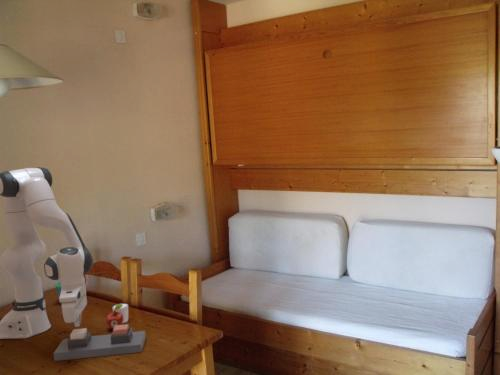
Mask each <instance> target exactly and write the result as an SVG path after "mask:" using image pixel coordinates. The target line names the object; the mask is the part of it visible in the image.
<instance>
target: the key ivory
mask: <svg viewBox="0 0 500 375" xmlns="http://www.w3.org/2000/svg"><path fill="white" fill-rule="evenodd" d="M87 332H88V328H87V327H85V328H74V329H73V330H72V331H71V333H70V334H69V338H71V340H76V339H85V338H86V336H87Z"/></svg>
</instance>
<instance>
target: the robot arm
mask: <svg viewBox="0 0 500 375" xmlns="http://www.w3.org/2000/svg"><path fill="white" fill-rule="evenodd" d="M52 185H53V176H52V173H51V172H50V170H49V169H48V168H45V167H41V166H39V167H24V168H20V169H13V170H6V171H5V170H4V171H3V172H0V196H1V197H3V204H4V205H3V207H4V208H3V209H4V218H5V226H6V227H5V228H6V230H7V232H8V233H10V235H11V236H12V238H13V241H14V245H12V246H10V247H8V248H7V249H5V250H4V252H3V253H2V254H1V255H0V266H1V268H2V269H3V270H4V271H6V272H7V274H8V275H9V277H10V278H11V283H12V284H13V289H14V290H13V291H14V299H13V301H12V302H11V303H10V308H11V310H10V311H9V312H8V313H6V314H5V315H4V316H3V317H2V319H1V320H0V340H3V339H28V338H31V337H33V336H35V335H39V334H41V333H44V332H46V331H48V330H49V329H51V327H52V324H51V323H50V320H49V318H48V314H47V310H46V309H47V307H46V306H47V305H46V303H47V302H46V299H45V295H44V290H43V283H42V278H41V276H39V275H38V274H37V272H36V269H35V267H34V265H35V264H37V263H38V262H40V261H41V260H42V259H43V257H45V254H46V252H47V246H46V244H45V242H44V241H43V240H42V239H41V238H40V235H39V232H38V230H37V227H36V225H37V226H40V227H45V228H50V229H51V228H52V229H54V230H55V229H56V230H57V231H60V232H62V233H63V234H64V236H65V238H66V241H67V242H68V245H69V246H68V247H62V248H61V249H59V250H58V251H57V253H56V254H54V255H51V256H49V257H47V259H46V260H45V261H44V265H43V268H44V269H43V271H44V275H45V276H46V277H47V278H48V279H50V280H52V281H58V280H60V282H61V294H60V297H59V296H58V300H59V301H58V302H59V303H60V304H61V312H62V316H63V321H64V322H65V324H71V323H74V327H77V328H78V327H80V325H81V324H82V313H83V311H84V309H85V308H86V306H87V304H88V299H87V298H88V297H87V287H86V286H87V285H86V279H85V277H84V274H88V273H89V272H90V271H91V269H92V267H93V265H94V258H93V256H92V253H91V252H90V251H89V249H88V248H87V247H86V245H85V242H84V240H83V239H82V237H81V234H80V232H79V230H78V229H77V226H76V225H75V223H74V221H73V219H72V218H71V216H70V215H69V214H68V213H67V212H65V211H63V210H62V208H60V206H59V205H58V203H57V199H56V197H55V194H54V191H53V190H52Z"/></svg>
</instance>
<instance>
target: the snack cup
mask: <svg viewBox="0 0 500 375" xmlns="http://www.w3.org/2000/svg"><path fill="white" fill-rule="evenodd" d="M54 285H55V289H56V291H57V295H58V298H59V297H60V294H61V281H58V282H56V283H55V284H54Z"/></svg>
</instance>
